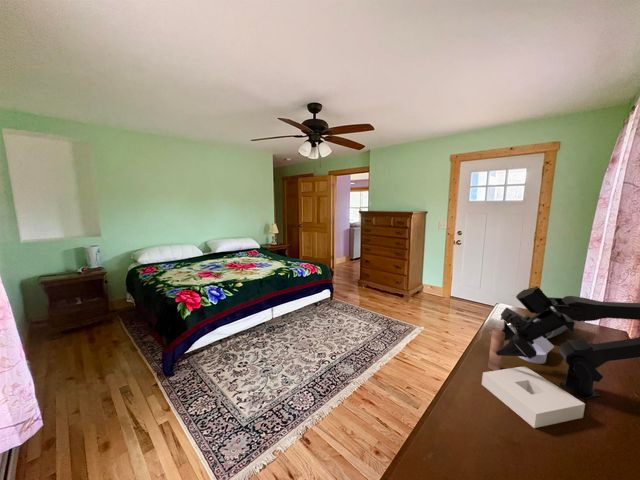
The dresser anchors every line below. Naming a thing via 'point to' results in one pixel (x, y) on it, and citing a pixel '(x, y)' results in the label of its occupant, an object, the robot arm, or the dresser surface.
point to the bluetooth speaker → (558, 329)
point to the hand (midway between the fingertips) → (495, 347)
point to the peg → (496, 349)
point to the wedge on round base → (540, 350)
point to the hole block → (533, 396)
